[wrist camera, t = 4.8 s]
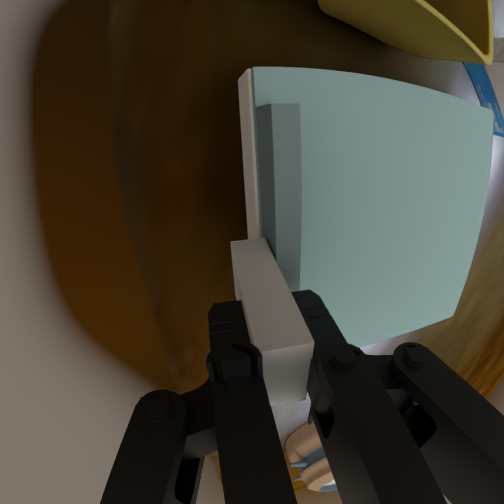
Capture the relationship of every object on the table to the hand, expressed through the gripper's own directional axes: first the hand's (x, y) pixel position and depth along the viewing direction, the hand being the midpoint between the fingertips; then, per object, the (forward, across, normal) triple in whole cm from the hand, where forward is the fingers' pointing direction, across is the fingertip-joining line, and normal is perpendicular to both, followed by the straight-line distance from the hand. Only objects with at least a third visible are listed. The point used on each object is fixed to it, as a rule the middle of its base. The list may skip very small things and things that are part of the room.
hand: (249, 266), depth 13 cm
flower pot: (+7, +10, +16) cm, 20 cm away
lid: (+2, +10, 0) cm, 10 cm away
